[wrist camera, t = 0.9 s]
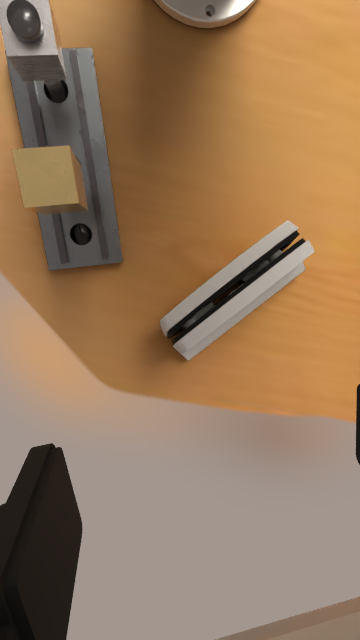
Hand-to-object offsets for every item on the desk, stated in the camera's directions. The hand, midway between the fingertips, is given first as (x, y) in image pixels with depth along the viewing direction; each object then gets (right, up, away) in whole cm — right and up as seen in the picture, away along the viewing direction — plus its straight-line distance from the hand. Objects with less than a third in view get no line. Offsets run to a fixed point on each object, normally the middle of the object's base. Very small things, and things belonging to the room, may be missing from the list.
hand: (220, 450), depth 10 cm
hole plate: (-11, +18, +20) cm, 30 cm away
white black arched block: (+4, +7, +26) cm, 27 cm away
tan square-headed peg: (-11, +15, +19) cm, 27 cm away
